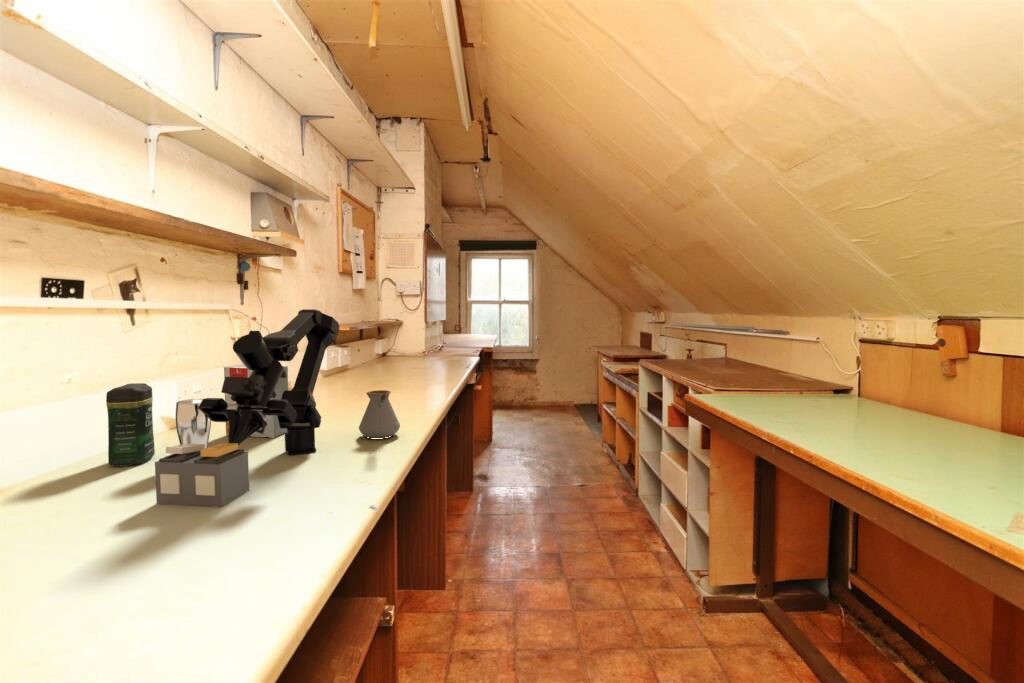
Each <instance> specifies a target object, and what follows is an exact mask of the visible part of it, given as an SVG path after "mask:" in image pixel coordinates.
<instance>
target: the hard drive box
mask: <svg viewBox="0 0 1024 683" xmlns="http://www.w3.org/2000/svg"><path fill="white" fill-rule="evenodd" d="M282 366H283V367H284V371H285V372H286V378H280V379H279V381H278V383H277V385H276V387H275V390H274V392H275V393H276V396H275V398H270V400H271V399H278V400H281V398H282V394H283V392H284V391H285V390H289V376H288V375H289V369H288V368H289V367H288V365H287V366H286V365H282ZM223 369H224V370H223V371H224V372H223V373H224V374H223V375H224V376H223V377H224V379H225V377H245V378H249V377H250V375H251V373H252V371H253V370H249V369H247V368H246V367H245V365H244V364H243V363H242V364H235V365H229V366H224V367H223ZM231 396H232V395H230V394H227V393H224V400H225V401H226V402H227V404H228V403H236V401H233V400H232V399H231ZM266 422H267V426H265V427H262V428H260V429H259V430H257V431H256V432H254V433H253V434H252V435H250V436H251V438H253V437H254V438H259V437H269V439H275V438H277V437H279V436H278V435H280V436H282V435H284V434H283V433H286V432H287V428H283V429H280V425H279V421H278V417H277V416H276V415H270V417H268V419H267V421H266ZM281 434H282V435H281ZM225 435H226V436H229V421H227V422H225ZM250 436H249V437H250ZM276 436H277V437H276ZM274 437H275V438H274Z"/></svg>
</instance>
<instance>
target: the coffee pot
mask: <svg viewBox="0 0 1024 683" xmlns="http://www.w3.org/2000/svg"><path fill="white" fill-rule="evenodd" d="M391 393H392V392H391V390H386V389H385V390H383V389H382V390H372V391H371V390H370V391H367V392H366V395H367V396H368V398H369V402H368V404H367V406H366V409H365V411H364V414H363V416H362V417H361V418H362V419H361V421H360V422H359V426H358V431H359V432H360V433H361V434H362V435H363V436H365V438H366V437H369V438H385V437H389V436H392V435H393V436H394V435H395V434H397V433H398V431H399V430H400V427H401V425H400V421H399V419H398V417H397V415H396V413H395V411H394V408H393V406H392V403H391V401H390V400H389V398H390V394H391Z"/></svg>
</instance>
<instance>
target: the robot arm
mask: <svg viewBox="0 0 1024 683" xmlns="http://www.w3.org/2000/svg"><path fill="white" fill-rule="evenodd" d="M339 333H340V324H339V322H338V321H337V320H336V319H335V318H334V317H333V316H331V315H328V314H325V313H323V312H321V311H320V309H319V310H318V309H316V308H314V309H310V308H309V309H308V308H307V309H304V308H303V309H299V311H298V313H297V315H296V316H294V317H293V319H292V320H290V321H289V322H288V323H287V324H286V325H285V326H284V327H282V328H281V329H280V330H278V331H274V332H272V333H271V332H270V333H268V334H266V335H264V336H263V334H262V333H261V331H260V330H249V332H248V333H247V334H245V335H242V336H240V337H239V338H238V339H237V340H235V341H234V343H233V344H232V350H233V352H234V354H236V357H238V359H239V361H241V362H242V364H244V365H245V367H246V368H247V369H249V370H253V371H252V373H251V375H250V377H249V378H245V377H225V379H224V380H223V384H222V387H221V391H220V392H221V393H223V394H225V393H227V394H230V395H232V396H231V399H232V400H233V401H236V403H228V404H227V402H226V401H225V398H222V397H206V398H202V399H203V400H202V402H201V403H200V405H199V407H198V408H199V409H200V410H201V411H202V412H203V413H204V414H205V415H206V416H207V417H208V418H209V419H210V420H211V422H214V423H226V422H227V421H229V435H228V441H227V443H238V446H239V445H241V443H244V441H245V440H247V439H248V438H250V435H252V434H253V433H254V432H256V431H257V430H259V429H260V428H262V427H265V426H267V422H266V421H267V419H268V417H270V415H276V416H277V417H278V421H279V425H280V429H283V428H287V433H285V434H284V450H285V451H286V452H287V455H289V456H291V455H300V454H307V453H314V452H317V448H316V444H315V443H316V437H315V436H316V435H315V434H316V433H315V429H318V428H320V426H321V423H322V416H321V414H320V413H319V411H318V409H317V408H316V407H317V403H316V400H315V397H314V391H315V386H316V384H317V380H318V377H319V373H320V371H321V370H320V369H321V366H322V363H323V360H324V356H325V352H326V350H327V348H329V347H330V346H331V345H332V344H333V343H335V341H336V338H337V335H338V334H339ZM304 338H306V339H307V345H306V347H305V351H304V354H303V357H302V360H301V363H300V366H299V370H298V373H297V376H296V379H295V381H294V384H293V387H292V388H291V389H290V390H289V389H288V390H285V391H284V392H283V394H282V398H281V400H278V399H271V400H270V398H275V396H276V393H275V392H274V390H275V387H276V385H277V383H278V381H279V379H280V378H286V372H285V371H284V367H283V366H284V365H282V363H281V362H291V361H293V359H294V358H295V356H296V355H297V353H298V352H299V348H298V344H299V343H300V342H301V341H302V340H303V339H304Z"/></svg>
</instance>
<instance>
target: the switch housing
mask: <svg viewBox="0 0 1024 683" xmlns="http://www.w3.org/2000/svg"><path fill="white" fill-rule="evenodd" d="M158 459H159V460H157V461H154V473H155V474H154V475H155V494H156V498H155V499H156V504H157V505H171V506H172V505H175V506H197V507H198V506H199V507H215V506H217V508H223V507H224V506H226V505H227V504H229V503H230V502H232V501H234V500H236V499H238V498H239V497H241V496H242V494H243V495H244V494H246V493H247V491H248V492H249V491H250V480H249V478H250V475H249V474H250V473H249V451H245V449H243V448H242V449H239V448H238V450H235V451H232V452H229V453H226V454H224V455H221V456H218V457H204V456H201V451H196V452H190V453H184V454H170V455H167V456H164V457H162V458H158ZM222 506H223V507H222Z"/></svg>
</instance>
